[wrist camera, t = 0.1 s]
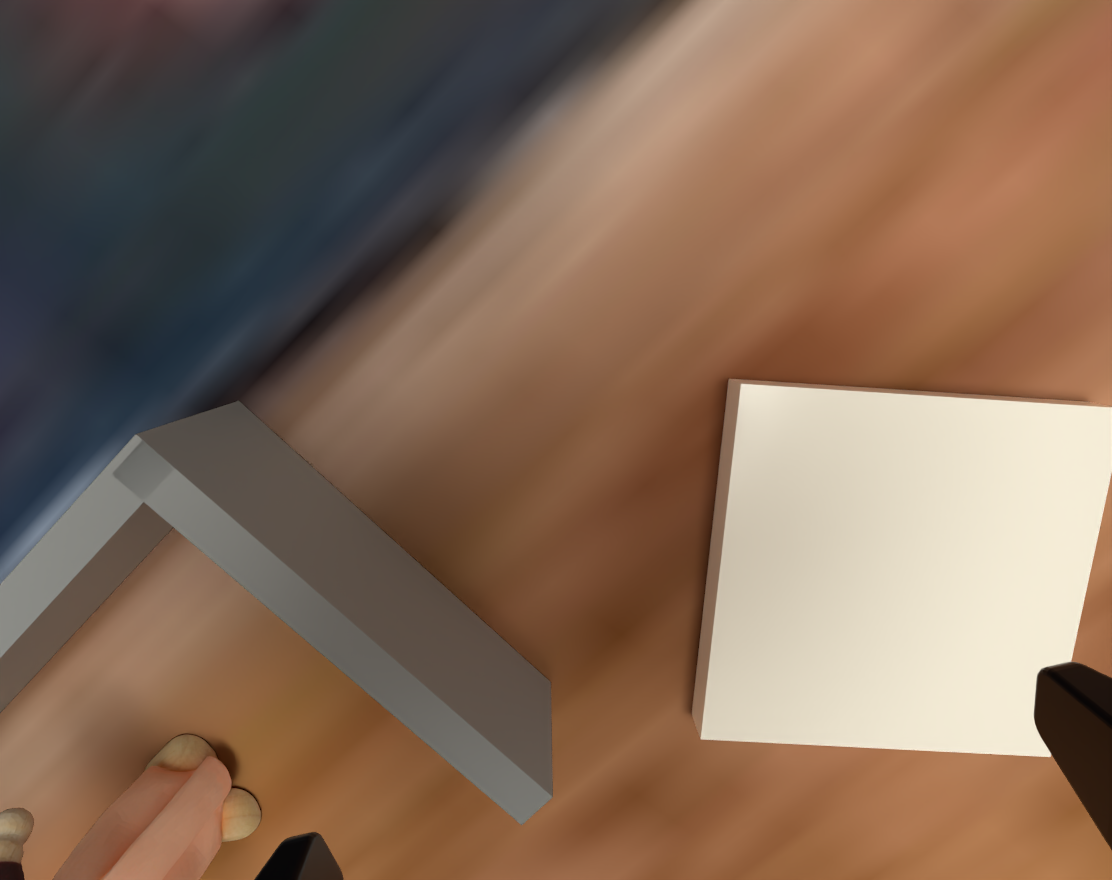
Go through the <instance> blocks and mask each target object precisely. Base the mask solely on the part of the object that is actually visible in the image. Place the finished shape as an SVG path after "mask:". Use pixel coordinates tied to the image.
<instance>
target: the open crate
mask: <svg viewBox="0 0 1112 880" xmlns="http://www.w3.org/2000/svg"><path fill="white" fill-rule="evenodd" d="M173 527H174V528H175V529H176V530H177V531H178V532H180V533H181V534H182V535H183V536H184V537H185V538H187V539H188V540H189V541H190V542H191V543H192V544H194V545H195V546H196V547H197V548H198V549H199V550H201V551H202V552H203V553H204V554H205V555H206V556H208V557H209V558H210V559H211V560H212V561H213V562H215V563H216V564H217V565H218V566H219V567H220V568H222V569H223V570H224V571H225V572H226V573H228V574H229V575H230V576H231V577H232V578H233V579H235V580H236V581H237V582H238V583H239V584H240V585H242V586H243V587H244V588H245V589H246V590H247V591H249V592H250V593H251V594H252V595H253V596H254V597H256V598H257V599H258V600H259V601H260V602H261V603H263V604H264V605H265V606H266V607H267V608H268V609H270V610H271V611H272V612H273V613H274V614H275V615H277V616H278V617H279V618H280V619H281V620H282V621H284V622H285V623H286V624H287V625H288V626H289V627H291V628H292V629H293V630H294V631H295V632H296V633H298V634H299V635H300V636H301V637H302V638H304V639H305V640H306V641H307V642H308V643H309V644H311V645H312V646H313V647H314V648H315V649H316V650H318V651H319V652H320V653H321V654H322V655H323V656H325V657H326V658H327V659H328V660H329V661H330V662H332V663H333V664H334V665H335V666H336V667H337V668H339V669H340V670H341V671H342V672H343V673H344V674H346V675H347V676H348V677H349V678H350V679H351V680H353V681H354V682H355V683H356V684H357V685H358V686H360V687H361V688H362V689H363V690H364V691H365V692H367V693H368V694H369V695H370V696H371V697H372V698H374V699H375V700H376V701H377V702H378V703H380V704H381V705H382V706H383V707H384V708H385V709H387V710H388V711H389V712H390V713H391V714H392V715H394V716H395V717H396V718H397V719H398V720H399V721H401V722H402V723H403V724H404V725H405V726H406V727H408V728H409V729H410V730H411V731H412V732H413V733H415V734H416V735H417V736H418V737H419V738H420V739H422V740H423V741H424V742H425V743H426V744H427V745H429V746H430V747H431V748H432V749H433V750H434V751H436V752H437V753H438V754H439V755H440V756H441V757H443V758H444V759H445V760H446V761H447V762H448V763H450V764H451V765H452V766H453V767H454V768H456V769H457V770H458V771H459V772H460V773H461V774H463V775H464V776H465V777H466V778H467V779H468V780H470V781H471V782H472V783H473V784H474V785H475V786H477V787H478V788H479V789H480V790H481V791H482V792H484V793H485V794H486V795H487V796H488V797H489V798H491V799H492V800H493V801H494V802H495V803H496V804H498V805H499V806H500V807H501V808H502V809H503V810H505V811H506V812H507V813H508V814H509V815H510V816H512V817H513V818H514V819H515V820H516V821H517V822H519V823H520V824H521V825H522V824H524V823H525V822H526V821H527V820H528V819H529V818H530V817H531V816H532V815H533V814H535V813H536V812H537V811H538V810H539V809H540V808H541V807H542V806H543V805H544V804H546V803H547V802H548V801H549V800H550V799H551V798H552V797H553V782H552V721H551V682H550V681H549V680H548V679H547V678H546V677H545V676H543V675H542V674H541V673H540V672H539V671H538V670H537V669H536V668H535V667H533V666H532V665H531V664H530V663H529V662H528V661H527V660H526V659H525V658H523V657H522V656H521V655H520V654H519V653H518V652H517V651H516V650H515V649H513V648H512V647H511V646H510V645H509V644H508V643H507V642H506V641H505V640H503V639H502V638H501V637H500V636H499V635H498V634H497V633H496V632H495V631H494V630H492V629H491V628H490V627H489V626H488V625H487V624H486V623H485V622H484V621H482V620H481V619H480V618H479V617H478V616H477V615H476V614H475V613H474V612H472V611H471V610H470V609H469V608H468V607H467V606H466V605H465V604H464V603H462V602H461V601H460V600H459V599H458V598H457V597H456V596H455V595H454V594H452V593H451V592H450V591H449V590H448V589H447V588H446V587H445V586H444V585H443V584H441V583H440V582H439V581H438V580H437V579H436V578H435V577H434V576H433V575H431V574H430V573H429V572H428V571H427V570H426V569H425V568H424V567H423V566H421V565H420V564H419V563H418V562H417V561H416V560H415V559H414V558H413V557H411V556H410V555H409V554H408V553H407V552H406V551H405V550H404V549H403V548H401V547H400V546H399V545H398V544H397V543H396V542H395V541H394V540H393V539H392V538H390V537H389V536H388V535H387V534H386V533H385V532H384V531H383V530H382V529H380V528H379V527H378V526H377V525H376V524H375V523H374V522H373V521H372V520H370V519H369V518H368V517H367V516H366V515H365V514H364V513H363V512H362V511H360V510H359V509H358V508H357V507H356V506H355V505H354V504H353V503H352V502H350V501H349V500H348V499H347V498H346V497H345V496H344V495H343V494H342V493H341V492H339V491H338V490H337V489H336V488H335V487H334V486H333V485H332V484H331V483H329V482H328V481H327V480H326V479H325V478H324V477H323V476H322V475H321V474H319V473H318V472H317V471H316V470H315V469H314V468H313V467H312V466H311V465H309V464H308V463H307V462H306V461H305V460H304V459H303V458H302V457H301V456H299V455H298V454H297V453H296V452H295V451H294V450H293V449H292V448H291V447H290V446H288V445H287V444H286V443H285V442H284V441H283V440H282V439H281V438H280V437H278V436H277V435H276V434H275V433H274V432H273V431H272V430H271V429H270V428H268V427H267V426H266V425H265V424H264V423H263V422H262V421H261V420H260V419H258V418H257V417H256V416H255V415H254V414H253V413H252V412H251V411H250V410H248V409H247V408H246V407H245V406H244V405H243V404H242V403H241V402H240V401H237V402H234V403H231V404H227V405H224V406H221V407H218V408H215V409H212V410H209V411H206V412H203V413H200V414H197V415H194V416H190V417H187V418H184V419H181V420H178V421H175V422H172V423H169V424H166V425H163V426H160V427H157V428H153V429H150V430H147V431H144V432H141V433H138V434H136V435H135V436H134V437H133V438H132V439H131V440H130V441H129V442H128V444H127V445H126V446H125V447H124V448H123V449H122V450H121V451H120V452H119V454H118V455H117V456H116V457H115V458H114V459H113V460H112V461H111V462H110V463H109V465H108V466H107V467H106V468H105V469H104V470H103V471H102V472H101V473H100V475H99V476H98V477H97V478H96V479H95V480H94V481H93V482H92V483H91V485H90V486H89V487H88V488H87V489H86V490H85V491H84V492H83V493H82V495H81V496H80V497H79V498H78V499H77V500H76V501H75V502H74V503H73V504H72V506H71V507H70V508H69V509H68V510H67V511H66V512H65V513H64V514H63V516H62V517H61V518H60V519H59V520H58V521H57V522H56V523H55V524H54V526H53V527H52V528H51V529H50V530H49V531H48V532H47V533H46V534H45V535H44V537H43V538H42V539H41V540H40V541H39V542H38V543H37V544H36V545H35V547H34V548H33V549H32V550H31V551H30V552H29V553H28V554H27V555H26V557H25V558H24V559H23V560H22V561H21V562H20V563H19V564H18V565H17V567H16V568H15V569H14V570H13V571H12V572H11V573H10V574H9V575H8V576H7V578H6V579H5V580H4V581H3V582H2V583H1V584H0V712H1V711H2V710H3V709H4V708H5V707H6V706H7V705H8V704H9V703H10V702H11V701H12V700H13V699H14V697H15V696H16V695H17V694H18V693H19V692H20V691H21V690H22V689H23V688H24V687H25V686H26V685H27V684H28V682H29V681H30V680H31V679H32V678H33V677H34V676H35V675H36V674H37V673H38V672H39V671H40V670H41V669H42V667H43V666H44V665H45V664H46V663H47V662H48V661H49V660H50V659H51V658H52V657H53V656H54V655H55V653H56V652H57V651H58V650H59V649H60V648H61V647H62V646H63V645H64V644H65V643H66V642H67V641H68V640H69V638H70V637H71V636H72V635H73V634H74V633H75V632H76V631H77V630H78V629H79V628H80V627H81V626H82V625H83V623H84V622H85V621H86V620H87V619H88V618H89V617H90V616H91V615H92V614H93V613H94V612H95V611H96V610H97V608H98V607H99V606H100V605H101V604H102V603H103V602H104V601H105V600H106V599H107V598H108V597H109V596H110V595H111V593H112V592H113V591H114V590H115V589H116V588H117V587H118V586H119V585H120V584H121V583H122V582H123V581H124V580H125V578H126V577H127V576H128V575H129V574H130V573H131V572H132V571H133V570H134V569H135V568H136V567H137V566H138V565H139V563H140V562H141V561H142V560H143V559H144V558H145V557H146V556H147V555H148V554H149V553H150V552H151V551H152V550H153V548H154V547H155V546H156V545H157V544H158V543H159V542H160V541H161V540H162V539H163V538H164V537H165V536H166V535H167V533H168V532H169V531H170V530H171V529H172V528H173Z"/></svg>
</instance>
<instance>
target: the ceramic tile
mask: <svg viewBox="0 0 1112 880" xmlns="http://www.w3.org/2000/svg"><path fill="white" fill-rule="evenodd" d="M1111 473H1112V406H1110V405H1104V404H1099V403H1093V402H1085V401H1070V400H1054V399H1038V398H1023V397H1007V396H992V395H976V394H960V393H945V392H929V391H914V390H898V389H883V388H867V387H851V386H836V385H820V384H805V383H789V382H773V381H758V380H742V379H729V381H728V390H727V399H726V408H725V417H724V426H723V435H722V444H721V453H720V462H719V471H718V480H717V489H716V498H715V508H714V517H713V526H712V535H711V544H710V553H709V562H708V571H707V580H706V589H705V598H704V607H703V616H702V625H701V634H700V643H699V653H698V662H697V671H696V680H695V689H694V698H693V707H692V717H693V719H694V722H695V725H696V728H697V731H698V733H699V736H700V739H704V740H724V741H744V742H764V743H784V744H804V745H824V746H843V747H863V748H883V749H903V750H923V751H943V752H963V753H982V754H1002V755H1022V756H1042V757H1051V753H1050V751H1049V750H1048V748H1047V746H1046V745H1045V743H1044V742H1043V740H1042V738H1041V737H1040V735H1039V733H1038V731H1037V728H1036V725H1035V721H1034V704H1035V691H1036V679H1037V674H1038V672H1039V671H1040V670H1041V669H1042V668H1044V667H1048V666H1052V665H1057V664H1061V663H1065V662H1071V659H1072V655H1073V650H1074V645H1075V641H1076V636H1077V631H1078V627H1079V622H1080V617H1081V613H1082V608H1083V603H1084V599H1085V594H1086V589H1087V585H1088V580H1089V575H1090V571H1091V566H1092V561H1093V557H1094V552H1095V547H1096V543H1097V538H1098V534H1099V529H1100V524H1101V520H1102V515H1103V510H1104V506H1105V501H1106V496H1107V492H1108V487H1109V482H1110V478H1111Z"/></svg>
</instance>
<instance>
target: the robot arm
mask: <svg viewBox="0 0 1112 880" xmlns="http://www.w3.org/2000/svg"><path fill="white" fill-rule="evenodd" d="M1034 721H1035V725H1036V728H1037V731H1038V733H1039V735H1040V737H1041V738H1042V740H1043V742H1044V743H1045V745H1046V746H1047V748H1048V750H1049V751H1050V753H1051V754H1052V756H1053V758H1054V759H1055V761H1056V762H1057V764H1058V766H1059V767H1060V769H1061V770H1062V772H1063V773H1064V775H1065V777H1066V778H1067V780H1068V781H1069V783H1070V785H1071V786H1072V788H1073V789H1074V791H1075V793H1076V794H1077V796H1078V797H1079V799H1080V801H1081V802H1082V804H1083V805H1084V807H1085V809H1086V810H1087V812H1088V813H1089V815H1090V817H1091V818H1092V820H1093V821H1094V823H1095V824H1096V826H1097V828H1098V829H1099V831H1100V832H1101V834H1102V836H1103V837H1104V839H1105V840H1106V842H1107V843H1108V845H1109V846H1110V848H1111V850H1112V678H1111V677H1109V676H1107V675H1104V674H1102V673H1100V672H1098V671H1096V670H1094V669H1092V668H1090V667H1088V666H1086V665H1083V664H1080V663H1077V662H1065V663H1061V664H1057V665H1052V666H1048V667H1044V668H1042V669H1041V670H1040V671H1039V672H1038V674H1037V679H1036V691H1035V704H1034ZM254 880H343V875H342V872H341V870H340V868H339V866H338V864H337V862H336V861H335V859H334V857H333V855H332V853H331V852H330V850H329V848H328V846H327V844H326V843H325V841H324V839H323V838H322V836H321V835H320V834H318V833H316V832H310V833H306V834H302V835H297V836H293V837H289V838H287V839H285V840H284V841H283V842H282V843H281V844H280V845H279V846H278V848H277V849H276V850H275V852H274V853H273V854H272V856H271V857H270V859H269V860H268V861H267V863H266V864H265V866H264V867H263V868H262V870H261V871H260V872H259V874H258V875H257V877H256V878H255V879H254Z"/></svg>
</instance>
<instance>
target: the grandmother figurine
mask: <svg viewBox="0 0 1112 880" xmlns="http://www.w3.org/2000/svg"><path fill="white" fill-rule="evenodd" d="M231 784H232V781H231V778H230V775H229V772H228V770H227V768H226V767H225V766H224V765H223V763H222V762H221V761H219V760H218V758H217V755H216V753H215V751H214V750H213V749H212V748H211V747H210V746H209V745H208V743H207V742H206V741H205V740H203V739H202V738H200V737H197V736H195V735H188V734H185V735H181V736H177V737H175V738H174V739H172V740H171V741H170V742H169V743H168V744H167V745H166V746H165V747H164V748H163V749H162V750H161V751H160V752H159V753H158V754H157V755H156V756H155V757H154V758H153V759H152V760H151V761H150V762H149V763H148V765H147V766H146V768H145V770H144V772H143V773H142V774H141V775H140V776H139V777H138V778H137V780H136V781H135V782H134V783H133V784H132V785H131V786H130V787H129V788H128V789H127V790H126V791H125V792H124V793H123V794H122V795H121V796H120V797H119V798H117V799H116V800H115V801H114V802H113V803H112V804H111V805H110V806H109V807H108V808H107V809H106V810H105V812H104V813H103V814H102V815H101V816H100V817H99V819H98V820H97V821H96V823H95V824H94V825H93V827H92V828H91V829H90V830H89V832H88V833H87V834H86V835H85V836H84V838H83V839H82V840H81V841H80V843H79V844H78V845H77V846H76V848H75V849H74V850H73V852H72V853H71V854H70V856H69V857H68V859H67V860H66V861H65V862H64V864H63V865H62V867H61V868H60V869H59V871H58V872H57V873H56V875H55V876H54V878H53V879H52V880H199V879H200V878H201V876H202V875H203V873H204V872H205V870H206V869H207V867H208V866H209V864H210V863H211V861H212V860H213V858H214V857H215V855H216V853H217V852H218V850H219V848H220V846H221V842H225V841H234V840H239V839H242V838H245V837H247V836H248V835H250V834H251V833H252V832H253V831H255V829H256V828H257V827H258V825H259V823H260V820H261V811H260V808H259V806H258V803H257V802H256V800H255V799H254V797H253V796H252V795H251V794H249V793H248V792H246V791H244V790H242V789H238V788H231ZM33 825H34V819H33V816H32V814H31V813H30V812H29V811H27V810H25V809H23V808H12V809H7V810H5V811H3V812H1V813H0V880H24V873H23V871H22V865H21V860H22V857H23V853H24V851H23V844H24V843H25V842H26V841H27V839H28V838H29V836H30V834H31V832H32V829H33Z"/></svg>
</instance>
